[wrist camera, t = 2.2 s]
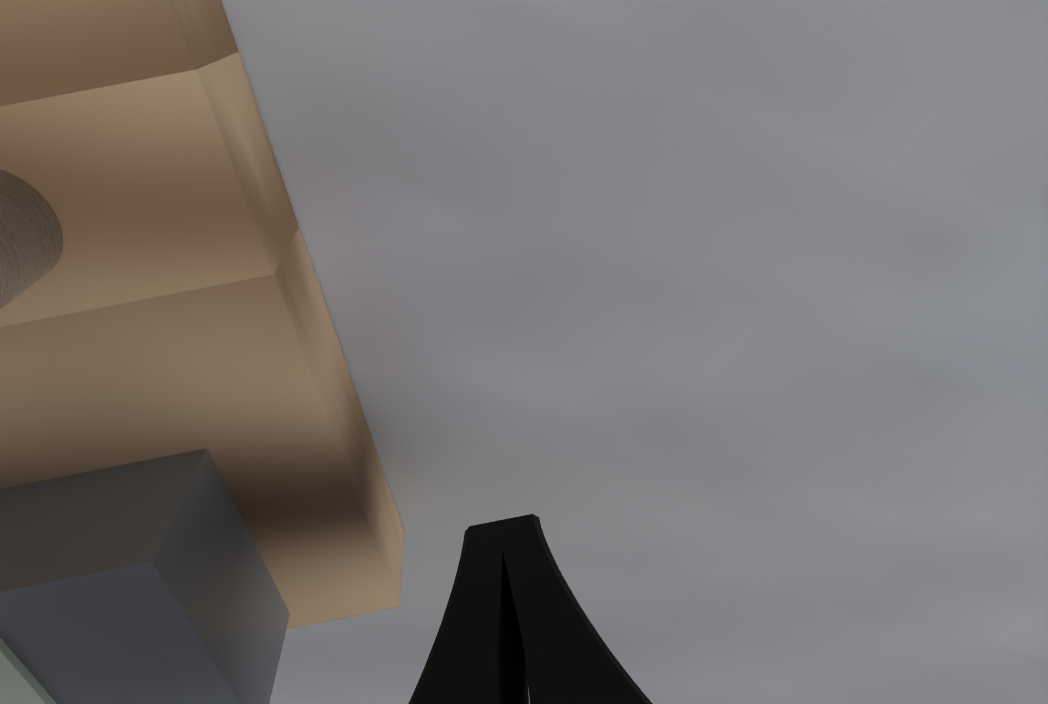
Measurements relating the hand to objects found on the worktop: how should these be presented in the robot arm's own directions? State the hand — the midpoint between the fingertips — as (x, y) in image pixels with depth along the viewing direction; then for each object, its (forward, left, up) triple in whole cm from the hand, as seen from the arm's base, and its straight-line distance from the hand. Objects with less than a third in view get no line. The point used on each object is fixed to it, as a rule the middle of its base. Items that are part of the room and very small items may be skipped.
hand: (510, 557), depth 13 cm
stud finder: (0, +9, -2) cm, 9 cm away
